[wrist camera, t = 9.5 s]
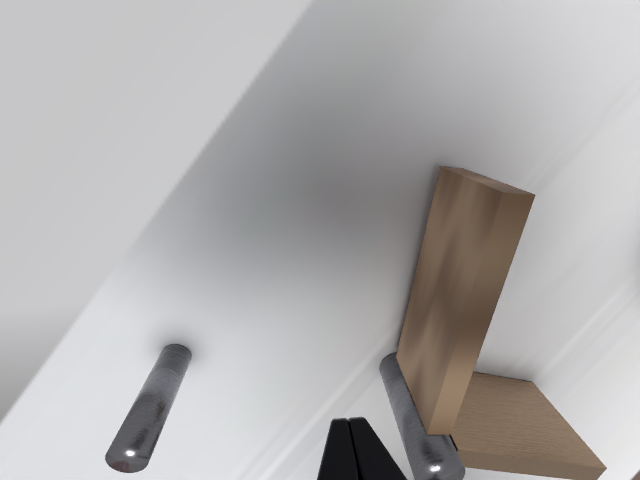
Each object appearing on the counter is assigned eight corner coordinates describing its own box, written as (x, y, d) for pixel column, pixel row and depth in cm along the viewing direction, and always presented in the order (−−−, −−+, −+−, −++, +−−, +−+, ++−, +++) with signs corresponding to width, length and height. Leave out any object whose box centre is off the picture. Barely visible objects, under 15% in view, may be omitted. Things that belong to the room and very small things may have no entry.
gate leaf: (414, 357, 20) (450, 434, 16) (395, 357, 20) (427, 434, 16) (463, 168, 16) (535, 194, 11) (440, 166, 16) (502, 192, 11)
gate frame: (536, 376, 23) (630, 480, 17) (509, 416, 24) (586, 527, 18) (166, 311, 19) (99, 418, 12) (160, 364, 20) (97, 485, 14)
